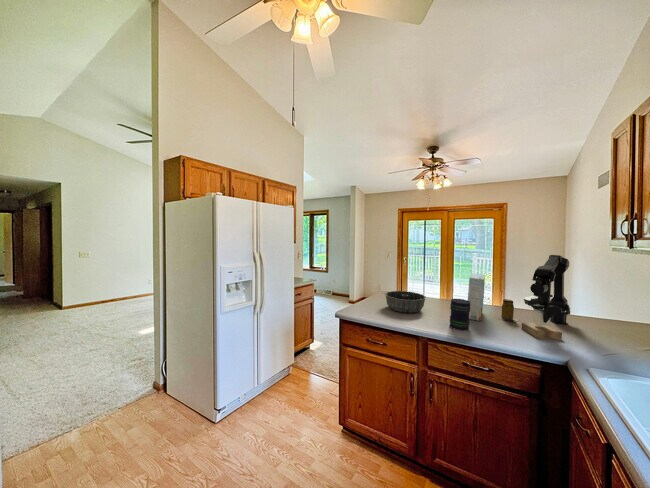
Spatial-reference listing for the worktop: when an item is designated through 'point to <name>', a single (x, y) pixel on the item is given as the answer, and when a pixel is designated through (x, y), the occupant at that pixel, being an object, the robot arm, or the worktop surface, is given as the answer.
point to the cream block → (539, 317)
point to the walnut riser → (541, 331)
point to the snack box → (476, 296)
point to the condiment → (507, 310)
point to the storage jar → (460, 314)
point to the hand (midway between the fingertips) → (541, 320)
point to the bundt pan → (405, 301)
